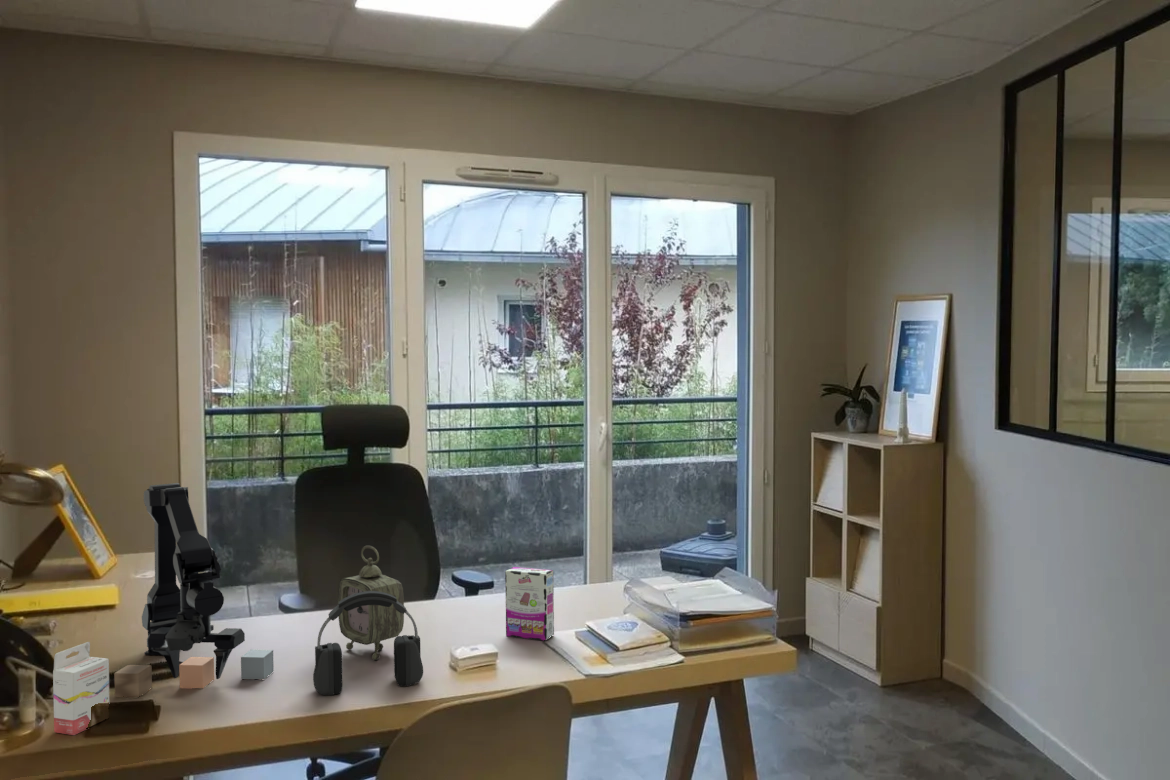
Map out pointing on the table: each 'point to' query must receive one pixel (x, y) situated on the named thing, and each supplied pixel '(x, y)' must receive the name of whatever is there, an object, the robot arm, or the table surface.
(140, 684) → the walnut cube
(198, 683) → the terracotta cube
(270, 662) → the slate grey cube
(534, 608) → the candy bar box
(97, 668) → the ink cartridge box
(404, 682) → the headphones
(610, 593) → the table surface
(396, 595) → the tabletop clock
